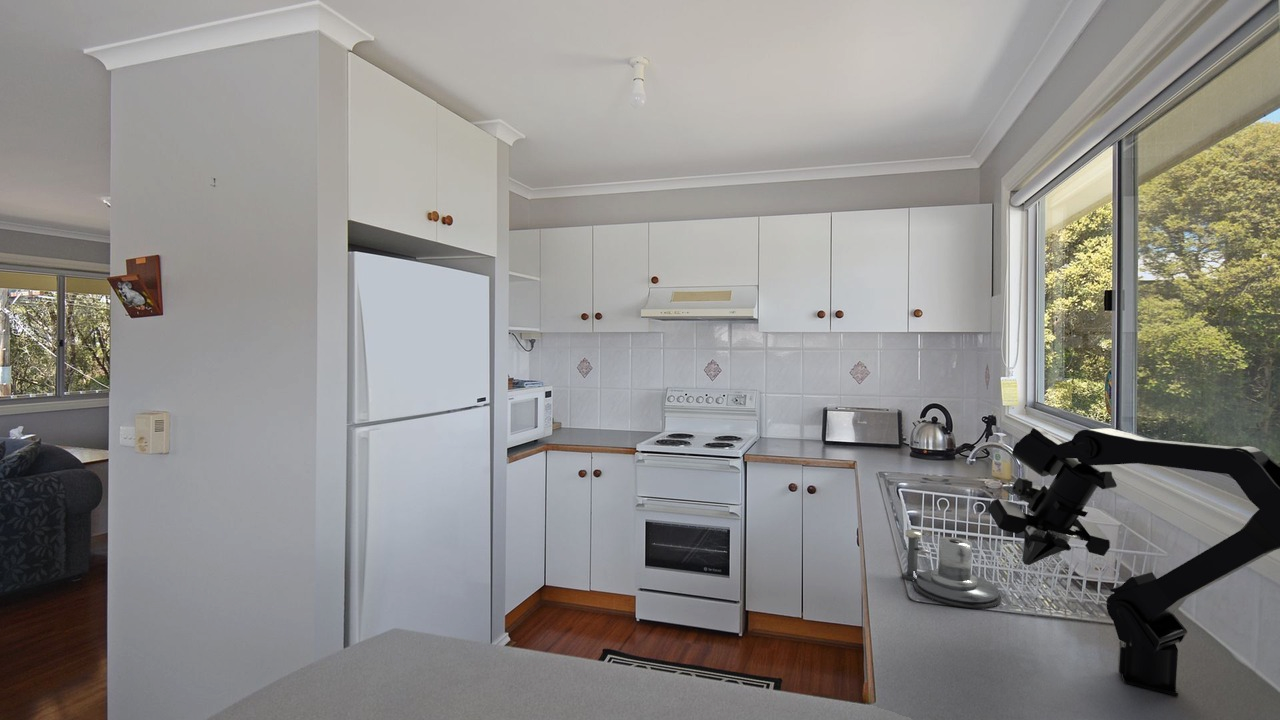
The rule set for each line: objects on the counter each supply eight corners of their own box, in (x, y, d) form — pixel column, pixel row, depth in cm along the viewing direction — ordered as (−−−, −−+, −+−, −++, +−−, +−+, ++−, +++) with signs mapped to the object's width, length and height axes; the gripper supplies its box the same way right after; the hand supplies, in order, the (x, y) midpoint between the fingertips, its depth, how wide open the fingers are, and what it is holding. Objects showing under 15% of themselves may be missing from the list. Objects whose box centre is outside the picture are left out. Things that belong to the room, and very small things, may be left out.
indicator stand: (900, 577, 141) (902, 531, 141) (908, 574, 143) (910, 528, 143) (924, 585, 137) (927, 537, 137) (932, 581, 139) (934, 534, 139)
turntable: (1003, 588, 136) (1004, 580, 136) (998, 615, 123) (998, 606, 123) (920, 572, 145) (921, 564, 145) (906, 595, 131) (907, 586, 131)
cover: (978, 581, 135) (980, 539, 135) (974, 594, 128) (976, 550, 128) (934, 572, 140) (936, 532, 139) (928, 584, 132) (930, 542, 132)
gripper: (1098, 480, 118) (1055, 546, 125) (996, 454, 118) (959, 521, 125) (1133, 519, 108) (1084, 588, 115) (1022, 490, 108) (980, 561, 115)
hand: (1025, 563), depth 118 cm, fingers closed
